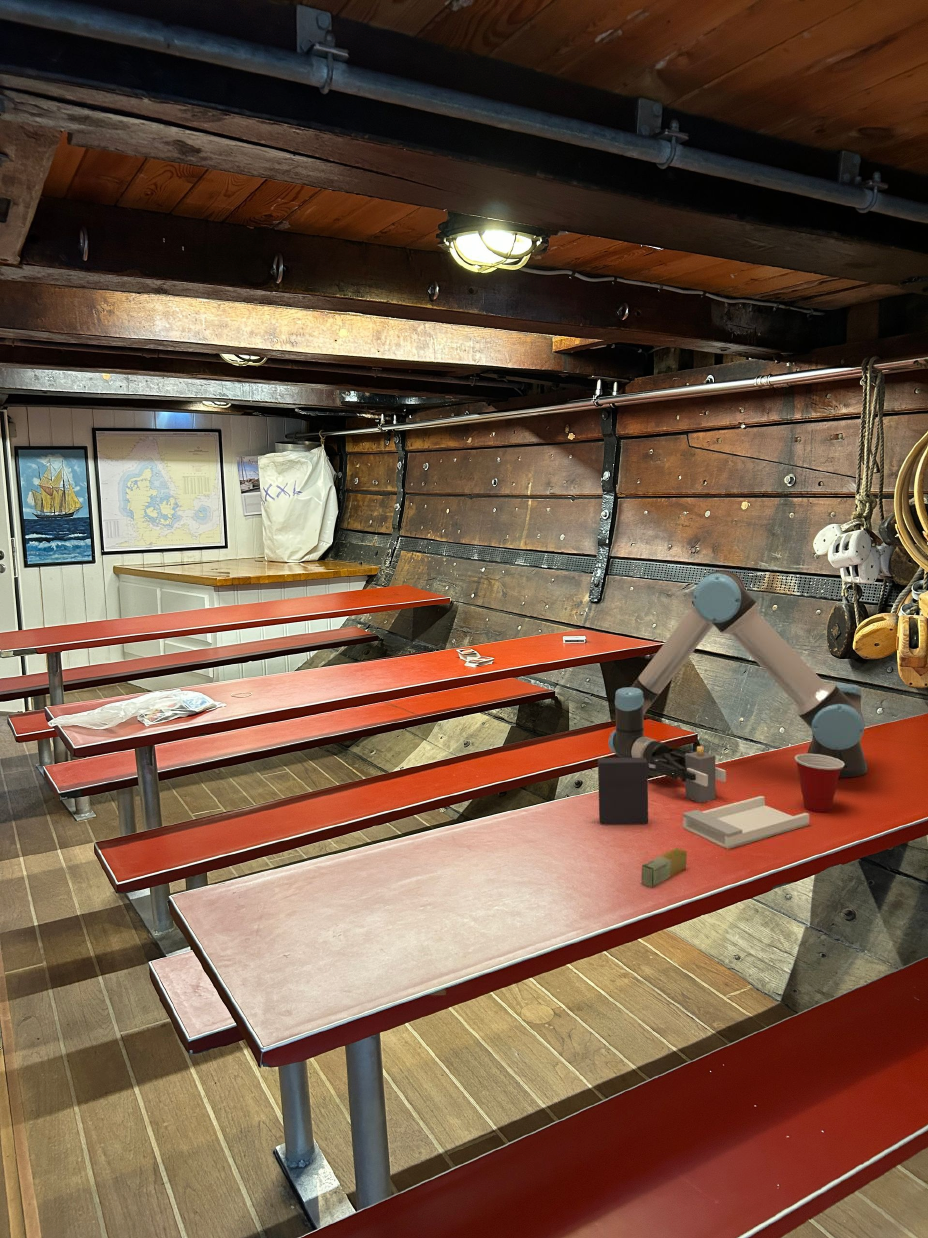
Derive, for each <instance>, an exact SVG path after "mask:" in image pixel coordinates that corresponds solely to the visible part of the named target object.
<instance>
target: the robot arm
mask: <svg viewBox="0 0 928 1238" xmlns="http://www.w3.org/2000/svg"><path fill="white" fill-rule="evenodd" d="M690 606H691V608H690V609H689V611H688V612H686V613H687V614H686V615H685V616H684V617H683V619H682V620H681V621H680V622H679V624H678V625H677V626H676V628H675V629H674V630H673V631H672V633H670V635H669V637H668V638H667V640H666V641H665V642H664V643H663V645H662V646H661V647H660V648H659V650H658V651H657V652H656V654H655V655H654V657H653V658H652V659H651V660H650V661H649V662H648V664H647V666H645V668H644V669H643V670H642V672H641V673H640V674H639V676H638V677H637V679H636V680H635V681H634V682H633V684H632V685H631V686H629V687H621V688H618V689H617V690H616V691H615V698H614V707H615V708H614V709H615V729H614V730H612V732H610V735H609V738H608V742H607V745H608V748H609V750H610V751H611V752H612V753H613V754H615V755H616V756H618V757H619V758H646V760H647V763H648V771H651V772H656V773H659V774H661V775H663V776H666V777H668V778H671V779H672V780H676V781H677V780H679V778H680V782H682V783H686V779H688V780H691V781H693V782H696V783H698V784H701V785H703V786H708V775H707V774H704V773H701V772H699V771H696V770H693V769H691V768H687V771H686V768H685V754H689V753H692V752H691V751H686V752H685V754H682V753H678V751H677V752H676V751H673V749H672V748H671V746H670V745H669V744H666V743H664V742H661V741H659V740H657V739H654V738H650V737H647V736H645V735H644V732H645V731H644V730H645V727H644V726H645V725H644V721H645V720H644V715H645V713H647V711H648V709H650V707H651V706H652V705H653V703H654V702H655V701H656V699H657V698H658V697H659V696H660V694H661V693H662V691H663V690H665V688H666V686H667V685H668V684H669V683H670V682H671V680H672V679H673V678H674V676H675V675H676V674H677V672H678V671H679V670H680V669H681V667H683V665H684V664H685V662H686V661H687V660H688V659H689V658H690V656H692V654H693V653H694V651H695V650H696V649H697V647H698V646H699V645H700V643H701V642H702V641H703V639H704V638H705V637H706V636H707V635H708V634H709V632H710V631H711V630H712V628H713V627H715V628H716V629H717V630H718V631H719V632H720V633H721V634H724V635H725V634H726V635H731V636H732V637H733V638H734V640H735V641H736V642H737V643H738V644H739V645H740V646H741V647H742V648H743V649H744V650H745V651H746V652H747V654H749V656H750V657H752V659H753V660H754V661H755V662H756V663H757V664H758V665H759V666H760V667H761V668H762V669H763V671H765V672H766V673H767V675H769V677H770V678H771V679H772V680H774V682H775V683H776V684H777V685H778V687H780V688H781V689H782V691H783V692H785V694H786V695H787V696H788V697H789V698H790V699H791V700H792V701H793V702H794V703H795V705H796V706H797V708H796V709H797V710H796V714H797V715H798V717H800V719H801V720H802V721H803V722H804V723H805V724H806V725H807V726H808V727H809V728H810V729H811V732H812V737H811V738H812V739H811V741H810V743H809V747H808V749H807V752H806V754H820V755H825V756H830V757H833V758H837V759H839V760H841V761H843V762H844V764H845V765H844V767H843V768H842V769H841V772H840V775H839V777H838V778H855V777H860V776H863V775H865V774H866V773H867V771H868V765H867V764H868V763H867V759H866V758H865V754H864V749H863V747H862V744H861V739H862V737H863V735H864V732H865V727H866V726H865V725H866V724H865V723H866V722H865V719H864V716H863V712H862V697H863V695H862V688H861V687H860V686H859V685H856V684H852V683H842V682H841V683H839V682H838V683H836V682H824V680H822V679H821V677H820V675H819V676H818V674H817V673H816V672H815V671H814V670H813V669H812V668H811V667H810V666H809V665H808V664H807V662H806V661H804V659H803V658H801V656H800V655H799V654H798V653H797V652H796V651H795V650H794V649H793V648H792V647H791V646H790V645H789V644H788V642H787V641H785V639H784V638H783V637H782V635H781V636H780V634H779V633H778V632H777V631H776V630H775V629H774V628H773V627H772V626H771V625H770V624H769V622H767V621H766V620H765V619H764V617H763V616H762V615H760V613H759V612H758V602H757V601H756V600H755V599H754V598H753V597H752V596H751V595H750V593H748V592H747V591H746V588H745V585H744V582H743V580H742V579H741V577H740V576H738V575H737V574H736V573H735V572H733V571H730V570H727V569H718V570H714V571H712V572H710V573H708V574H707V575H706V576H705V577H703V578H702V579H701V580H700V581H699V582H698V583H697V584H696V586H695V588H694V590H693V596H692V601H691V602H690ZM715 780H718V781H719V782H722V783H724V782H726V781H727V770H725V769H723V768H720V767H718V766H715Z"/></svg>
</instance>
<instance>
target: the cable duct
mask: <svg viewBox="0 0 928 1238" xmlns="http://www.w3.org/2000/svg"><path fill="white" fill-rule="evenodd" d="M765 798H766V797H765V796H762V795H759V796H756V797H752V798H748V799H744V800H741V801H737V802H734V803H729V804H725V805H722V806H719V807H718V806H717V807H714V808H711V809H706V810H703V811H701V810H699V809H693V810H691V811H690V810H689V811H686V812H683V813H682V828H683V829H685V830H687V831H689V832H691V833H694V834H695V835H698V837H699V836H700V837H702V838H703V839H706V840H708V841H710V842H712V843H714V844H717V845H718V846H720V847H723V848H724V849H726V850H730V849H733V848H737V847H741V846H744V845H748V844H750V843H753V842H757V841H761V840H764V839H768V838H770V837H775V836H777V835H781V834H784V833H788V832H790V831H791V832H792V831H794V830H797V829H801V828H805V827H808V826H809V825H810V813H807V812H803V813H800V814H796V815H790V814H788V813H785V812H783V811H781V810H779V809H775V808H773V807H771V806H767V805H766V803H765V800H766V799H765Z"/></svg>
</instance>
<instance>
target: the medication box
mask: <svg viewBox="0 0 928 1238" xmlns="http://www.w3.org/2000/svg"><path fill="white" fill-rule="evenodd" d="M687 854H688V852H687V850H685V849H681V848H679V847H675V848H673V849H672V850H671V849H670V850H669V851H667V852H666V853H664V854H662V855H660V856H658V857H656V858H654V859H652V860H651V861H649V862H646V863H644V864H642V865H641V881H640V882H641V885H644V886H646V887H649V888H653V887H655V886H656V885H659V884H661V883H662V882H664V881H666V880H667V879H669V878H671V877H673V876H675V875H677V874H678V873H681V872H682V871H684V870H685V869H686V868H687V857H688V856H687Z"/></svg>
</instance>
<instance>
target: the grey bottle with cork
mask: <svg viewBox="0 0 928 1238" xmlns="http://www.w3.org/2000/svg"><path fill="white" fill-rule="evenodd" d="M704 750H705V748H704V746H701V745H698V746H696V751H695V752H691V753H689V754H686V753H685V754H684V755H685V768H686V771H687V768H691V769H693V770H696V771H699V772H701V773H704V774H707V775H708V786H703V785H701V784H698V783H696V782H693V781H691V780H688V779H686V781H685V798H687V797H688V798H687V799H689V798H690V799H689V800H691V799H693V800H694V802H696V801H697V802H696V803H698V802H699V803H698V804H701V803H700V802H702V803H705V802H704V801H706V802H709V801H708V800H710V801H713V799H714V800H716V779H715V767H716V755H714V754H712V753H709V752H705V751H704ZM693 800H692V801H693Z"/></svg>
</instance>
